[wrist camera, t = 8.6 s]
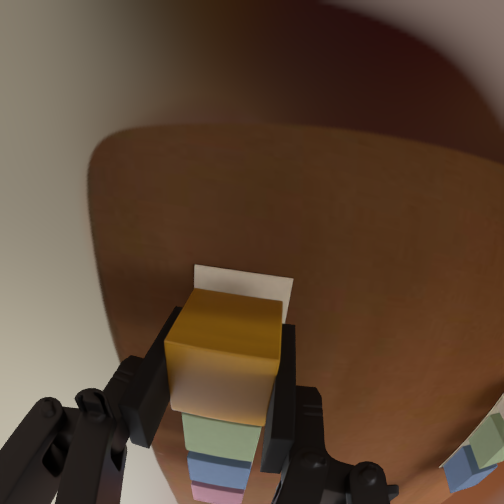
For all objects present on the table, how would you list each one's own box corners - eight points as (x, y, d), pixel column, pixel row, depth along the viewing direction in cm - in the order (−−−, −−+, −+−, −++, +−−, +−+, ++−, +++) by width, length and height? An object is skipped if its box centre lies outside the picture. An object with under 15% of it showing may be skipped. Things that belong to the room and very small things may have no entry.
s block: (194, 286, 15) (163, 340, 11) (283, 300, 14) (280, 360, 10) (194, 353, 16) (170, 409, 12) (270, 365, 16) (264, 427, 12)
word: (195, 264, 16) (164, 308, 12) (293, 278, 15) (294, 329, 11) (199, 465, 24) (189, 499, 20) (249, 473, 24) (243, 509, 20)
